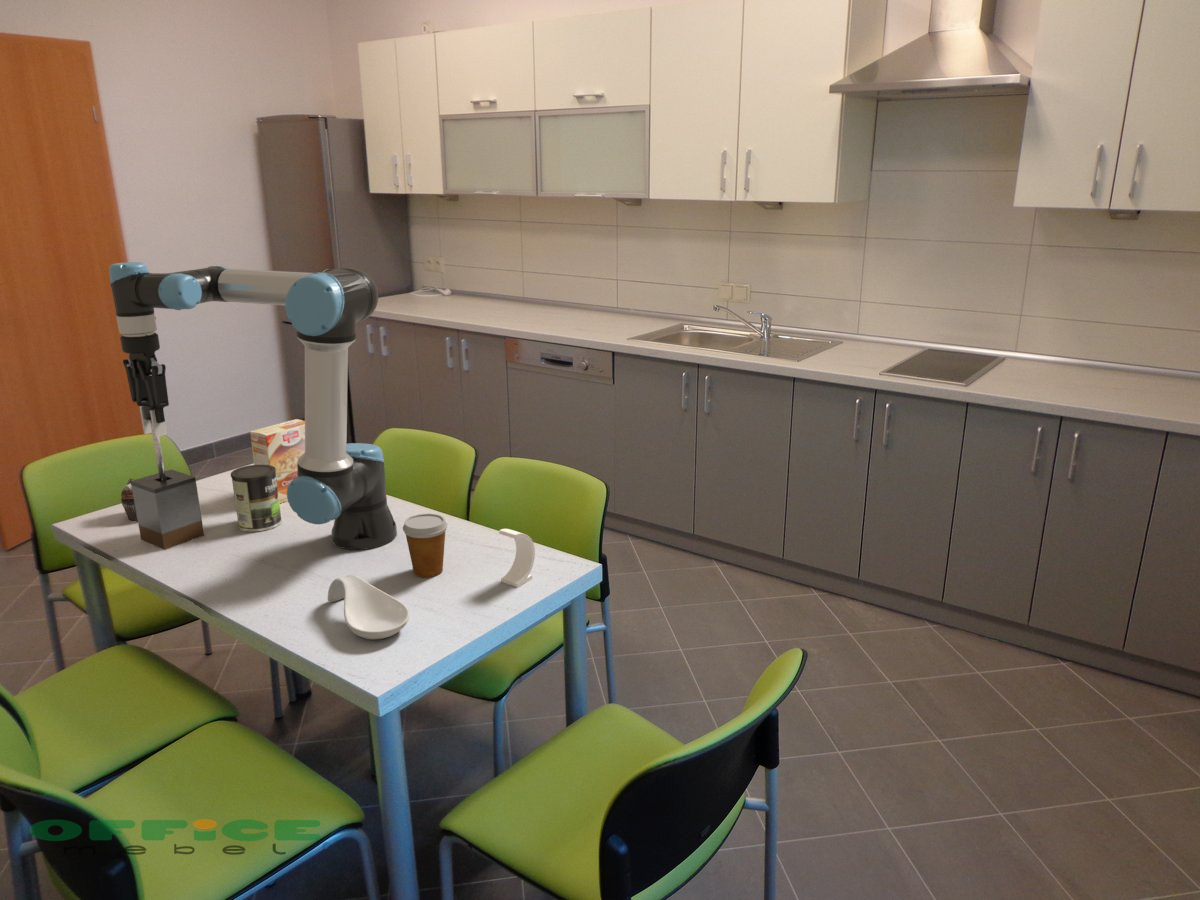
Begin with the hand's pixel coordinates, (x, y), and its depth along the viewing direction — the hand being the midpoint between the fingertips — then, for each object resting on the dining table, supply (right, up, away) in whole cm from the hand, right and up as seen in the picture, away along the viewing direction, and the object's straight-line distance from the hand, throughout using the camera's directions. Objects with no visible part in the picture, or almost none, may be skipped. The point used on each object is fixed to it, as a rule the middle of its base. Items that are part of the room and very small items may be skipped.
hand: (155, 434), depth 198 cm
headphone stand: (+85, -32, -13) cm, 92 cm away
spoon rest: (+56, -37, -29) cm, 74 cm away
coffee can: (+18, -22, +16) cm, 33 cm away
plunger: (0, -13, +4) cm, 14 cm away
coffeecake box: (+18, -16, +36) cm, 43 cm away
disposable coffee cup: (+65, -31, -9) cm, 72 cm away
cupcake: (-14, -21, +21) cm, 33 cm away
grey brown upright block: (0, -25, +8) cm, 26 cm away
